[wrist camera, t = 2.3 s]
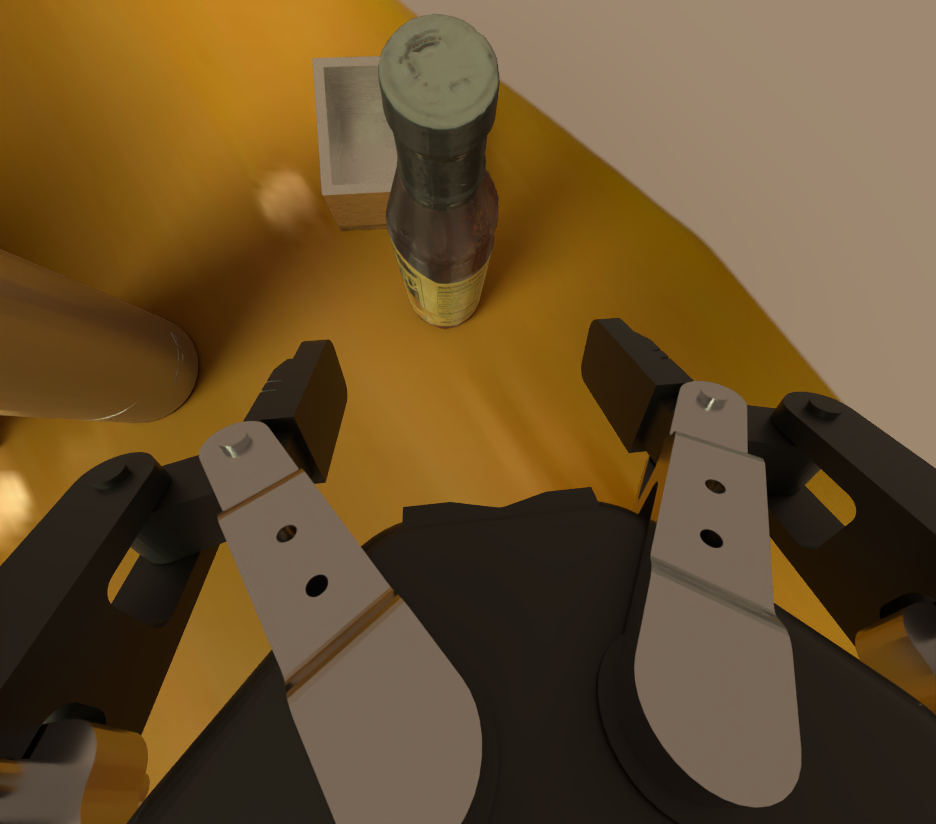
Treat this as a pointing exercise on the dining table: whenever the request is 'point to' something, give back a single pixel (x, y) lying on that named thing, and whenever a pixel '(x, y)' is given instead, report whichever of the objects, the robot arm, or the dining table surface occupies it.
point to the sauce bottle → (441, 162)
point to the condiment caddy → (353, 141)
